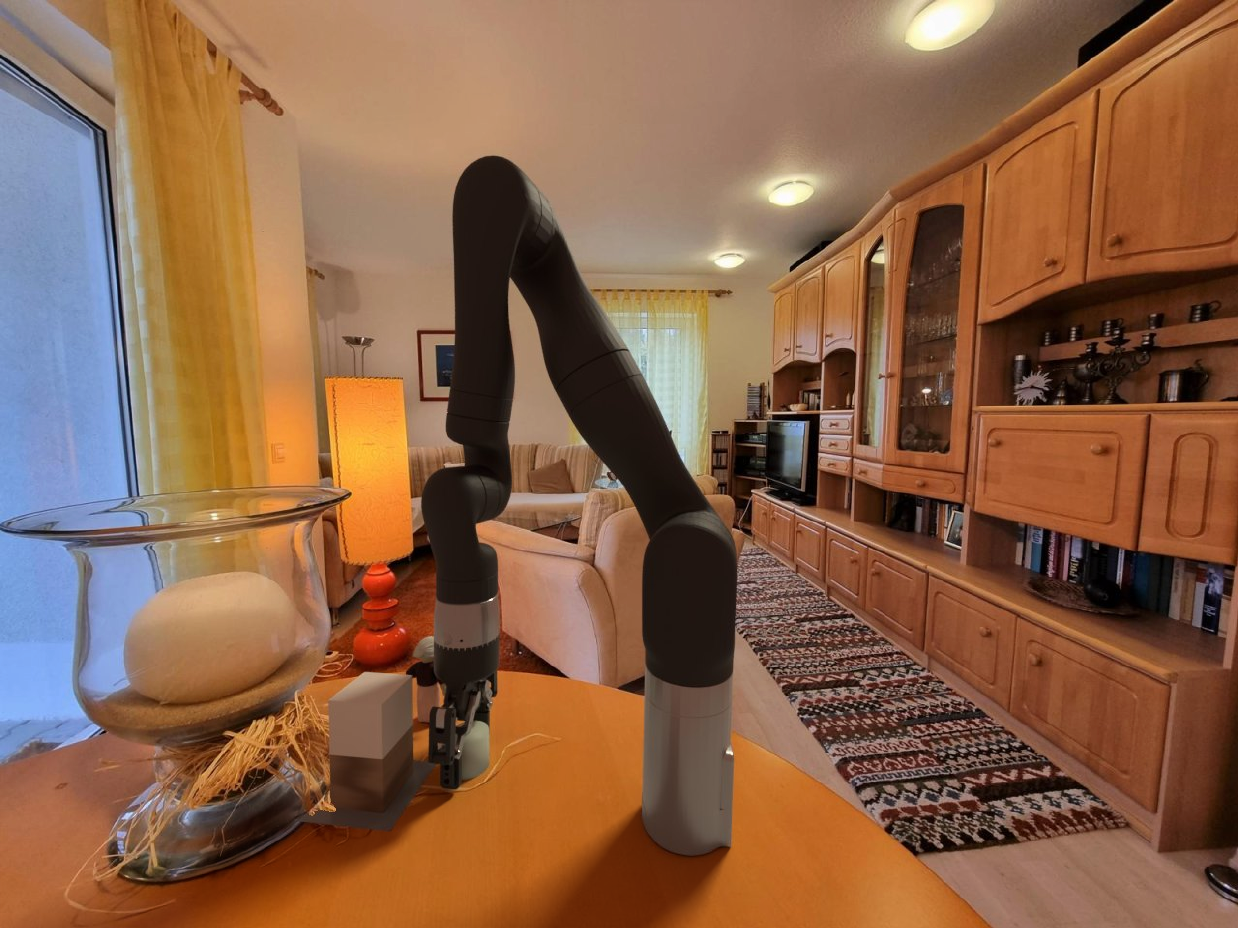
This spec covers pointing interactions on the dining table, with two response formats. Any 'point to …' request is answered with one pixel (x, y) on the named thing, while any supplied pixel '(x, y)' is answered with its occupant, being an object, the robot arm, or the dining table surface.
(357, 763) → the tower base
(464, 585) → the robot arm
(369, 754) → the tower top
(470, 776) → the drum
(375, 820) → the coaster
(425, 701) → the grandmother figurine
